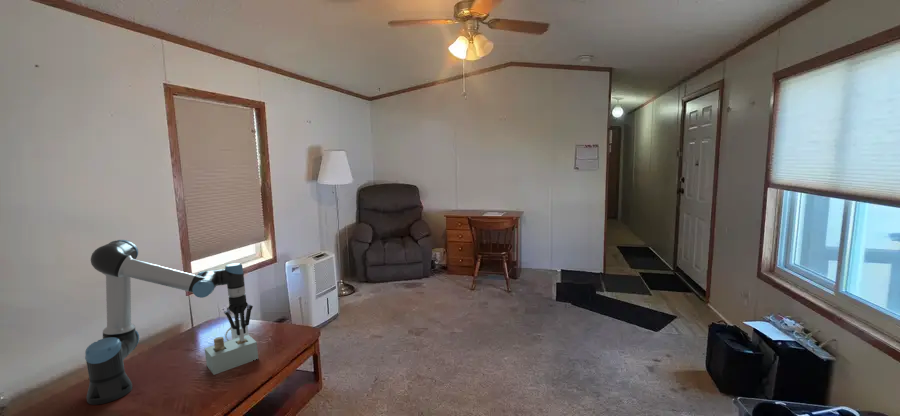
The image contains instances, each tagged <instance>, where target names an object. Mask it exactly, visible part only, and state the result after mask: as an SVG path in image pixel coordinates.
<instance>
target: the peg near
mask: <svg viewBox="0 0 900 416" xmlns="http://www.w3.org/2000/svg"><path fill="white" fill-rule="evenodd" d="M224 342H225V340H224V337H223V336H219V337H214V339H213V344H214V345H213V346H215V352H218V351H221V350H224V349H225V348H224Z"/></svg>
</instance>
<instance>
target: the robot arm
mask: <svg viewBox="0 0 900 416" xmlns="http://www.w3.org/2000/svg"><path fill="white" fill-rule="evenodd" d="M138 255H139V249H138V246H137V245H136V244H135V243H133V242H132V241H130V240H127V239H117V240H113V241H110V242H109V243H107V244H104V245H101V246H99V247H98V248H96V249H95V250H94V251H93V252H92V253H91V256H90V264H91V266H92V267H93V269H94V270H95V271H97V272H100V273H101V274H103V275H105V289H106V290H105V294H106V299H105V300H106V327H105V328H104V329H102V338H101V339H98V340H97V341H94V342H92V343H91V344H89V345H88V346H87V347H86V350H85V353H84V355H85V356H84V359H85V362H86V367H87V368H86V369H87V372H88V373H87V374H88V378H89V379H88V380H89V386H88V389H87V392H86V403H87V404H89V405H102V404H103V405H104V404H108V403H110V402H114V401H117V400H118V399H121V398H123V397H125V396H127V395H128V394H129V393H130V392H131V391H132V389H133V382H132V380H131V379H130V377H129V376H128V374H127V373H126V371H125V365H124V364H125V363H124V360H125V359H126V358H127V357H128V356H129V355H130V354H131V353H132V352H133V351H134V350H135V349H136V347H137V346H138V344H139V341H140V334H139V332H138V330H136V325H135V324H134V323H132V300H131V299H132V298H131V297H132V296H131V295H132V294H131V293H132V291H131V286H132V285H131V284H132V283H131V279H135V280H140V281H142V282H143V281H145V282H148V283H152V284H157V285H161V286H163V287H164V286H165V287H167V288H168V287H169V288H173V289H176V290H177V289H178V290H180V291H185V292H188V293H192V294H193V295H194V296H195V297H197V298H199V299H201V298H202V299H204V298H207V297H209V295H211V294H213V292H214V290H215V289H216V287H218V286H226V287H227V296H228V309H227V310H225V311H224V312H223V314H224V315H225V316H226V318H227V320H228V322H229V325H230V327H232V328H233V329H236V333H237V335H239V340H240V341H241V342H242V341H244V333H246V330H245V328H246V326H247V325H248V326H249V325H250V322H251V321H250V320H251V313H252V310H253V307H254V306H253V305H252V304H249V303H248V301H247V294H246V288H245V276H244V272H245V271H244V268H243V265H242V264H241V263H239V262H235V263H234V262H233V263H228V264H226V265H225V267H224V269H215V270H213V269H212V270H205V271H200V272H198V273H197V274H193V273H189V272H184V271H182V270H178V269H173V268H169V267H167V266H166V267H165V266H161V265H159V264H154V263H150V262H147V261H142V260H138V259H137V258H138ZM245 311H246V312H245ZM231 313H233V315H234V320H233V318H232V315H231ZM245 313H246V314H245ZM239 320H241V326H242V327H240V325H239ZM233 321H235V325H234V322H233Z"/></svg>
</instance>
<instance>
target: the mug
mask: <svg viewBox="0 0 900 416" xmlns="http://www.w3.org/2000/svg"><path fill="white" fill-rule="evenodd" d="M233 322H234V325H235V320H233ZM239 325H240V327H242V326H241V319H239ZM248 328H249V325H247V326H246V328H245V330H246V333H244V336H246V335H249V336H250V334H249V329H248ZM229 331H230V332H231V339H228V336H227V335H228V333H229ZM224 335H225V337H224V338H225V340H226V341H230V340H233V339H236V338H239V335H237V333H236V329H233V328H232V327H231V326H229V328H228V329H227V330H226V332H225V334H224Z"/></svg>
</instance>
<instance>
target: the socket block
mask: <svg viewBox="0 0 900 416" xmlns="http://www.w3.org/2000/svg"><path fill="white" fill-rule="evenodd" d="M244 339H246V342H245V343H242V344H239V345H238V343H237V341H238V340H239V338H236V339H233V340H232V339H229V340H230V341H227V340H226V341H224V348H225V349H224V350H221V351H218V352H215V346H214V345H210V346H208V347H205V348H204V352H205V353H204V354H205V363H206V367H207V368H208V369H209V371H210V372H211V373H212V375H217V374H220V373H223V372H226V371H228V370H232V369H234V368H237V367H239V366H240V367H241V366H242V365H246V364H248V363H250V362H251V363H252V362H254V361H257V360H259V352H258V342H257V341H256V340H255V339H254V338H253V337H252V336H250V334H249V335H246V336H244ZM256 359H257V360H256ZM253 360H254V361H253Z"/></svg>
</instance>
